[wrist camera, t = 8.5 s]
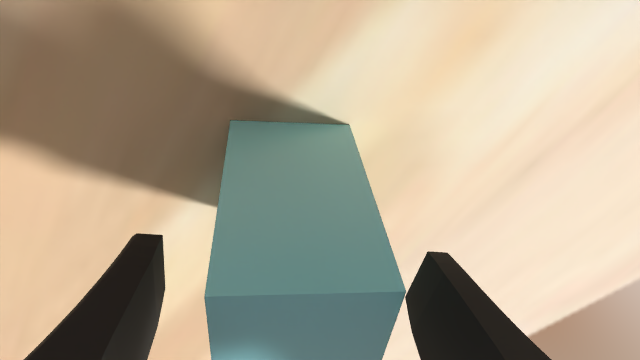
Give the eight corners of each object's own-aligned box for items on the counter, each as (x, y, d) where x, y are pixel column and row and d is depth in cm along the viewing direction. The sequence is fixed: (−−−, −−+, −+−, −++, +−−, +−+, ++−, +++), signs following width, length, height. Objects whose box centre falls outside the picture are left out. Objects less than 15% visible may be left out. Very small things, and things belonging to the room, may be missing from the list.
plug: (233, 211, 16) (215, 398, 10) (230, 120, 13) (204, 296, 8) (334, 212, 16) (371, 388, 11) (349, 124, 14) (405, 291, 8)
